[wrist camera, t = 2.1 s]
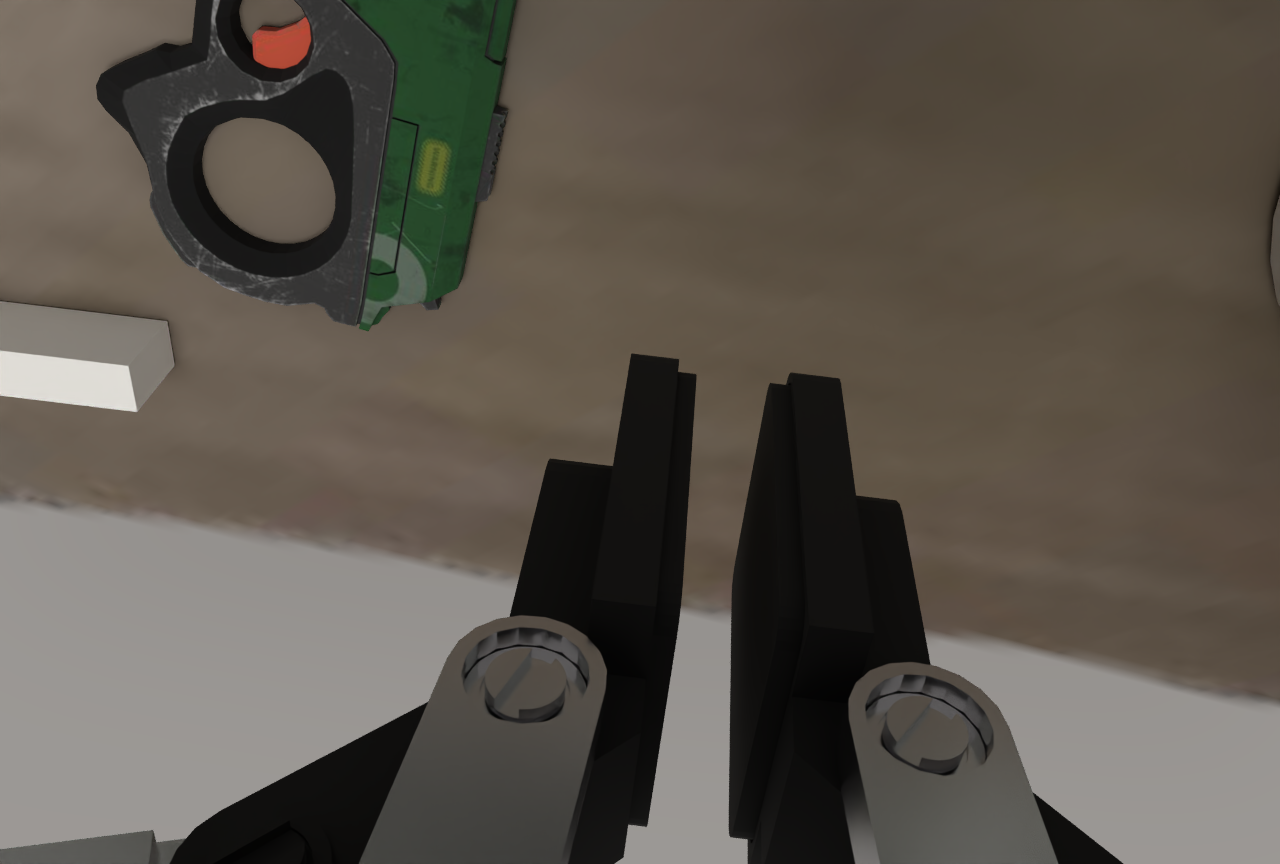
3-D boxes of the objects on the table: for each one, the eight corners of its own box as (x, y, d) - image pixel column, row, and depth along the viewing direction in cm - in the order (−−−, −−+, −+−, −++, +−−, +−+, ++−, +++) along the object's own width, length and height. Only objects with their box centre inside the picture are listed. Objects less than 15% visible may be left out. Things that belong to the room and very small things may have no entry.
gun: (79, -500, 21) (593, -330, 22) (114, -492, 22) (601, -331, 23) (90, 256, 30) (453, 354, 31) (115, 233, 31) (464, 328, 32)
